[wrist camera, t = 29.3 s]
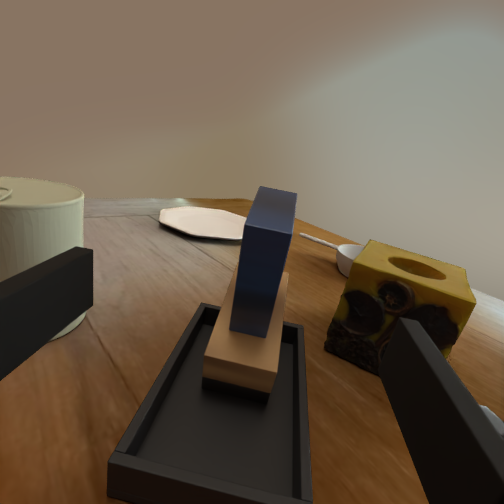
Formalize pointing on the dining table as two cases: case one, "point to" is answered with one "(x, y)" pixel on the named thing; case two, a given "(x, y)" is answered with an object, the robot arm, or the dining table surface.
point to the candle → (397, 303)
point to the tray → (217, 433)
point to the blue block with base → (253, 304)
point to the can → (38, 225)
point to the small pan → (340, 253)
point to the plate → (204, 222)
